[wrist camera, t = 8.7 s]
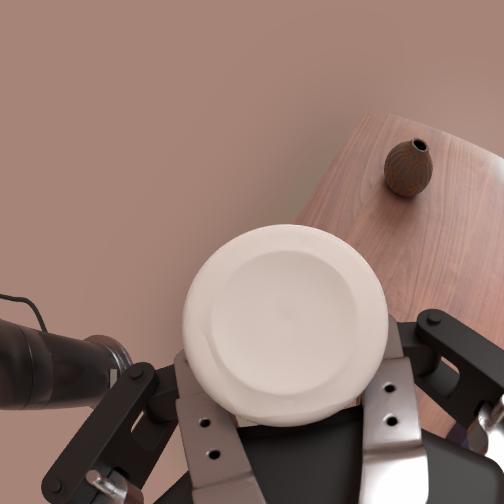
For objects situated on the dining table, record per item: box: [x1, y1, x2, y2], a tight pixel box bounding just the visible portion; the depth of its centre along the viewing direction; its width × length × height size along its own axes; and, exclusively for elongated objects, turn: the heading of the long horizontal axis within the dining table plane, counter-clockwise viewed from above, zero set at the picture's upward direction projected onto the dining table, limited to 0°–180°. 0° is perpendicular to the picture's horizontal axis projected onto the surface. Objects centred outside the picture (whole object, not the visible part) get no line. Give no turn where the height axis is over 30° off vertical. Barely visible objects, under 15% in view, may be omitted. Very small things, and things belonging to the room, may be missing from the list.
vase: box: [384, 138, 433, 196], centre depth 32 cm, size 7×7×9 cm
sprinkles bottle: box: [182, 224, 389, 427], centre depth 12 cm, size 5×5×13 cm
